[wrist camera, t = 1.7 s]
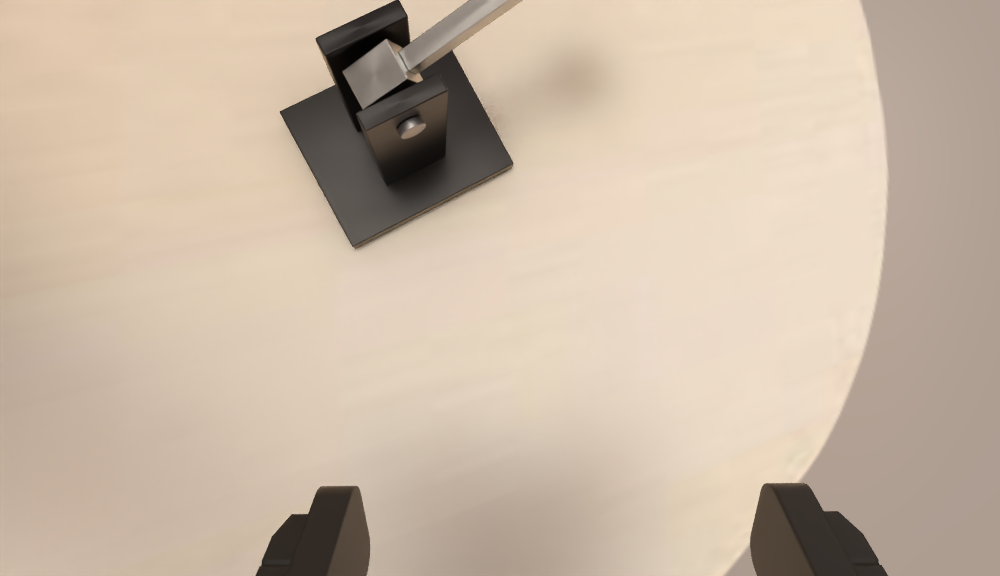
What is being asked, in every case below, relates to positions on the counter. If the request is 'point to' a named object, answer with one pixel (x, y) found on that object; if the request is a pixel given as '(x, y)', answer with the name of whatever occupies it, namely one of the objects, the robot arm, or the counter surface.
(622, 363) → the counter surface
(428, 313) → the counter surface
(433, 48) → the lever
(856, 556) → the robot arm
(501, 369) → the counter surface
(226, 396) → the counter surface
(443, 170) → the bracket
